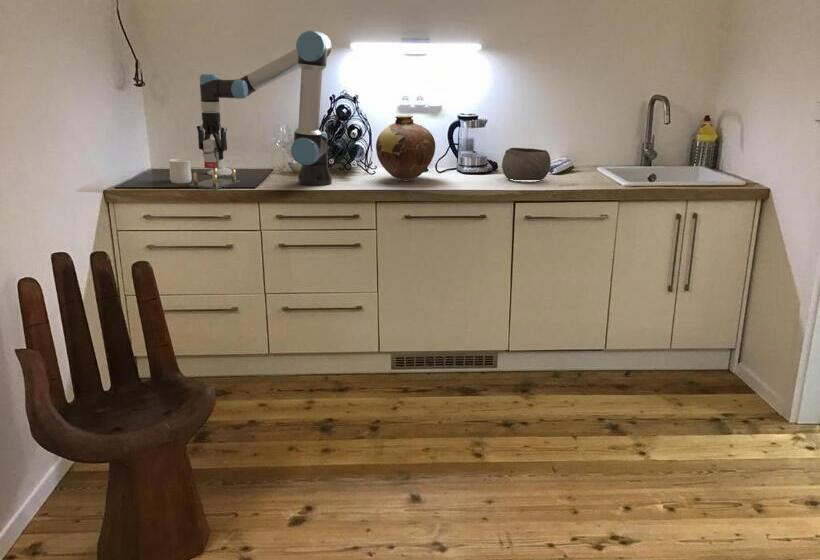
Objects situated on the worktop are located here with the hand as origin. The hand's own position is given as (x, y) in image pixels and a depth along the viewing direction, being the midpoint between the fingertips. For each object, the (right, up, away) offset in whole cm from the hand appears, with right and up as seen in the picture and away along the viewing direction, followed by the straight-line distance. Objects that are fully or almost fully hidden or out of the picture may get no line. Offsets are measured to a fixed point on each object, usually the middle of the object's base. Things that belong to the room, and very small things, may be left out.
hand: (213, 166), depth 302 cm
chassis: (0, -8, +2) cm, 8 cm away
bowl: (+141, -2, +31) cm, 144 cm away
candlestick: (-5, +2, +31) cm, 32 cm away
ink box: (0, 0, 0) cm, 0 cm away
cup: (-17, -6, +8) cm, 20 cm away
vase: (+83, -3, +23) cm, 87 cm away
